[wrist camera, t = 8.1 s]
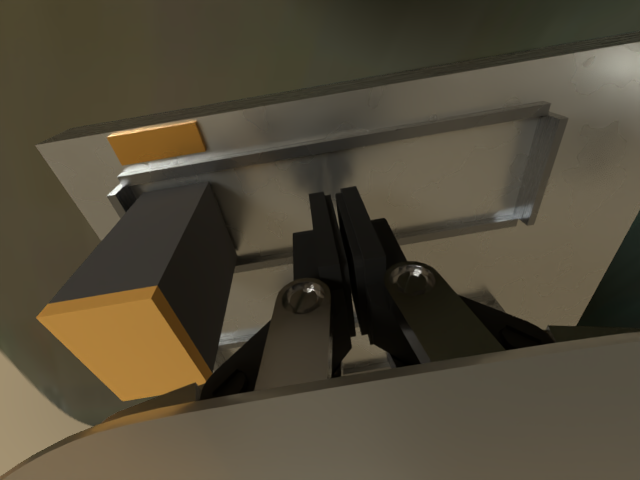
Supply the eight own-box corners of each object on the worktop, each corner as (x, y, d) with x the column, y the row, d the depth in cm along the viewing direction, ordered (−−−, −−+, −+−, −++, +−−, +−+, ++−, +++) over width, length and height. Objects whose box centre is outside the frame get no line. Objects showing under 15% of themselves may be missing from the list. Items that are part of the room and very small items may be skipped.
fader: (208, 181, 11) (151, 298, 6) (237, 255, 13) (209, 386, 9) (143, 192, 11) (35, 317, 6) (181, 265, 13) (122, 401, 9)
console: (678, 24, 12) (780, 24, 9) (543, 323, 22) (575, 360, 20) (69, 128, 12) (13, 155, 9) (220, 377, 22) (212, 420, 20)
